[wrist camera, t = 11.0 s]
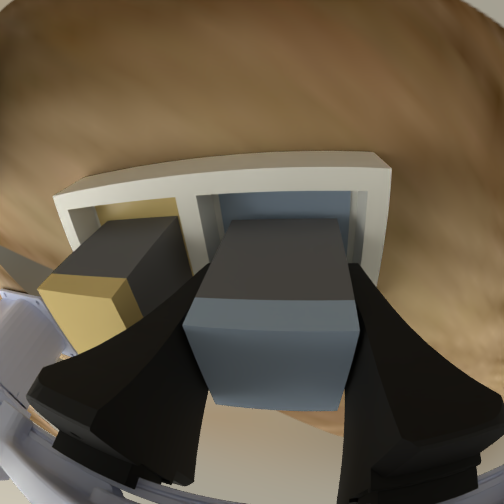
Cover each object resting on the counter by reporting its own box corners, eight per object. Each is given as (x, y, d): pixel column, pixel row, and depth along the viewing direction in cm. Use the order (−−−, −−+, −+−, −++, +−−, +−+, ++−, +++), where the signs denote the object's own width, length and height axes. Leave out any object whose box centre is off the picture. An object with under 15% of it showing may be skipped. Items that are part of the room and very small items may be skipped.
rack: (125, 296, 17) (107, 322, 15) (83, 177, 13) (52, 196, 11) (358, 304, 14) (364, 339, 12) (373, 151, 10) (391, 168, 8)
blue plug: (243, 298, 13) (215, 404, 8) (231, 219, 11) (182, 325, 6) (331, 299, 12) (337, 410, 8) (337, 218, 10) (359, 330, 6)
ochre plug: (131, 284, 15) (81, 358, 10) (107, 220, 13) (36, 288, 8) (195, 288, 14) (154, 377, 9) (177, 215, 12) (111, 298, 7)
